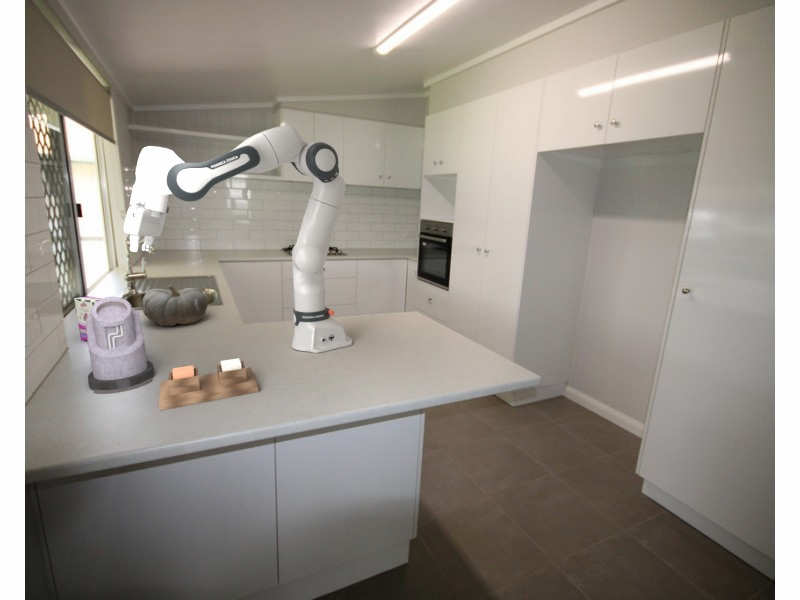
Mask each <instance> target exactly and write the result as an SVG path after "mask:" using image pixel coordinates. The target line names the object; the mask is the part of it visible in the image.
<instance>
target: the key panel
mask: <svg viewBox="0 0 800 600" xmlns="http://www.w3.org/2000/svg"><path fill="white" fill-rule="evenodd" d="M240 362H241V367H242V369H237V370H231V371H225V372H222V371H221V363H218V364H216V368H217V369H216V371H217V372H213V373H208V374H207V373H206V374H201V375H199V368H198V367H194V377H188V378H182V379H176V380H173V370H171V371H168V380H163V381H160V388H159V397H158V408H159V411H165V410H169V409H176V408H179V407H186V406H191V405H195V404H201V403H206V402H211V401H217V400H223V399H227V398H232V397H238V396H243V395H248V394H254V393H258V392H259V384H258V382H257V379H256V377H255V375H254V372H253V371H252V368H251V367H246V365H245V363H244V361H243V360H240Z"/></svg>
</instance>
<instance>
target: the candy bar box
mask: <svg viewBox="0 0 800 600" xmlns="http://www.w3.org/2000/svg"><path fill="white" fill-rule="evenodd" d="M101 299H103V298H102V297H95V296H88V295H87V296H79V297H76V298H73V300H74V301H73V302H74V307H75V313H76V319H77V324H78V331H79V336H80V340H81V341H83V342H87V343H88V339H87V331H86V318H87V317H88V316H89V315H90V314H91V309H92V306H93V305H94V304H95V303H96V302H97V301H99V300H101Z"/></svg>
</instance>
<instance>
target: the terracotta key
mask: <svg viewBox="0 0 800 600" xmlns="http://www.w3.org/2000/svg"><path fill="white" fill-rule="evenodd" d="M194 368H195V367H194V365H193V364H192V365H191V364H190V365H187V366H179V367H173V368H172V371H173V380H176V379H182V378H188V377H194Z"/></svg>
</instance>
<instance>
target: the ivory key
mask: <svg viewBox="0 0 800 600" xmlns="http://www.w3.org/2000/svg"><path fill="white" fill-rule="evenodd" d="M240 361H241V360H240V358H239V357H238V358H233V359H225V360H220V364H221V371H222V372H225V371H231V370H237V369H242V367H241V362H240Z"/></svg>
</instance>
